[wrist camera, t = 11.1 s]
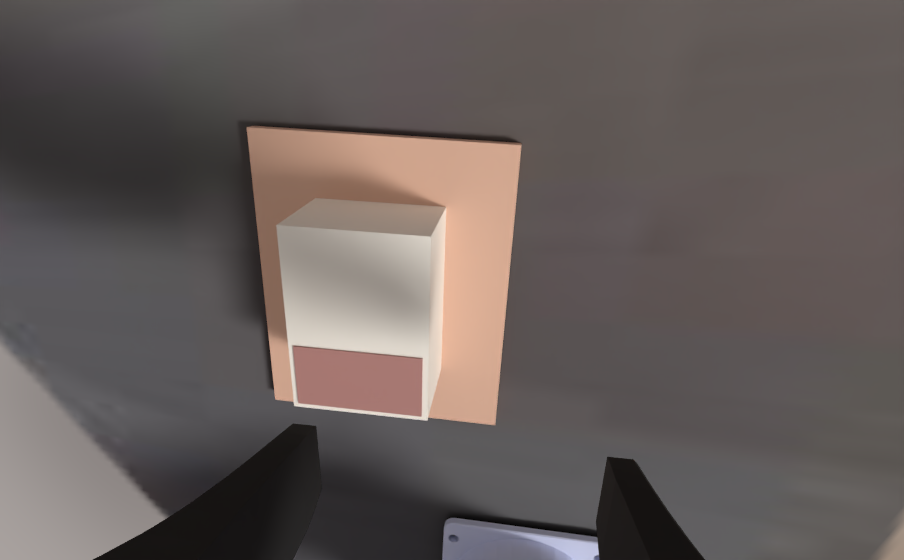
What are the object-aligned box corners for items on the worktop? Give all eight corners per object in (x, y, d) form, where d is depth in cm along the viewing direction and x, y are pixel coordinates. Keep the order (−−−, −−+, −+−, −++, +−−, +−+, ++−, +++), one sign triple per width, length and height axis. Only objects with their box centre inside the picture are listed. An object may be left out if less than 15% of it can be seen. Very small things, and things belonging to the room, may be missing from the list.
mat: (495, 418, 24) (495, 425, 23) (279, 393, 25) (275, 399, 24) (521, 143, 19) (521, 145, 19) (253, 125, 20) (246, 127, 19)
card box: (446, 206, 20) (430, 237, 16) (441, 368, 22) (427, 421, 19) (315, 197, 20) (275, 225, 17) (326, 357, 23) (293, 407, 20)
